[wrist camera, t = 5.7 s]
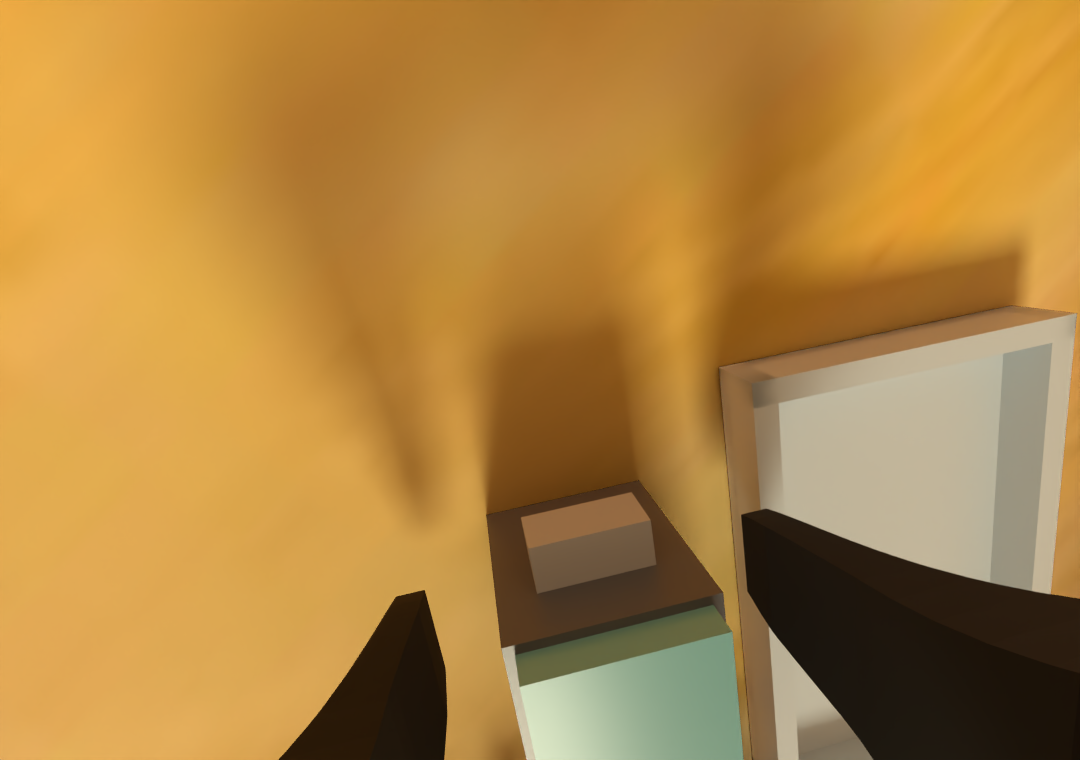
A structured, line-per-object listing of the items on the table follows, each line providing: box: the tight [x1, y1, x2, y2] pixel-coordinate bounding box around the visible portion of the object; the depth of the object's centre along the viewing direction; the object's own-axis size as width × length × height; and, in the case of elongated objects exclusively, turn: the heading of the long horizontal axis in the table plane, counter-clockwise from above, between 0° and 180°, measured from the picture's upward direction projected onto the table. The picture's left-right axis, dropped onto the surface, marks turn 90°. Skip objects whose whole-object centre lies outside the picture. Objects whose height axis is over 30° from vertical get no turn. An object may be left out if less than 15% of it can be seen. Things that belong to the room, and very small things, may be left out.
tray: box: [719, 305, 1077, 760], centre depth 15 cm, size 8×13×2 cm, turn 9°
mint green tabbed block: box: [486, 480, 744, 760], centre depth 12 cm, size 4×9×6 cm, turn 9°
